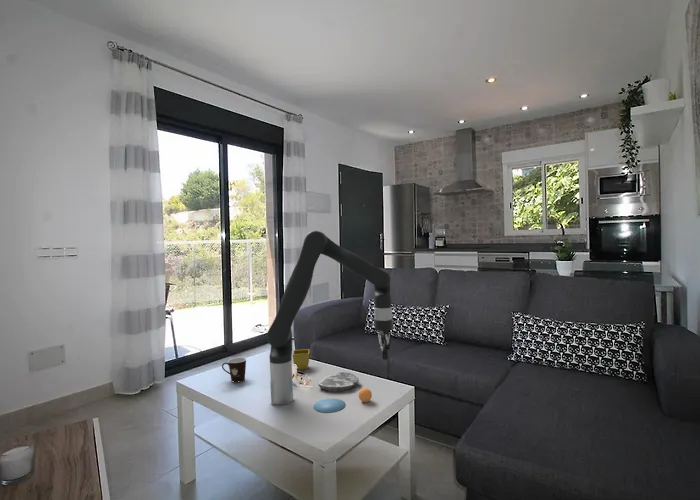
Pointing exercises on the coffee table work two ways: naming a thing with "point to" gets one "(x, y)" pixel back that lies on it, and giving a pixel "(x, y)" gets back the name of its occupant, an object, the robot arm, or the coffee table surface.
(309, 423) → the coffee table surface
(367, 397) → the ball
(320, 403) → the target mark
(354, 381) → the brain slice
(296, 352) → the flower pot
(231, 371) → the coffee mug
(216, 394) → the coffee table surface
